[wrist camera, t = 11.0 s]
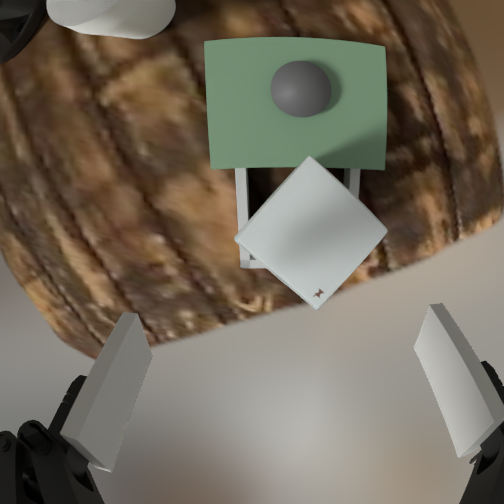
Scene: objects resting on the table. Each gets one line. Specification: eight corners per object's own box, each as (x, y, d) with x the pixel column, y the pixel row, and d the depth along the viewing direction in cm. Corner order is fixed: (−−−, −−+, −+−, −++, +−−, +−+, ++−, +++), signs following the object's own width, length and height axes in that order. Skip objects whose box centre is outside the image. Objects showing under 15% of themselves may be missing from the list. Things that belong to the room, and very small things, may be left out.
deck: (212, 50, 24) (201, 38, 19) (371, 53, 23) (389, 44, 18) (225, 257, 34) (218, 281, 30) (361, 256, 33) (375, 279, 29)
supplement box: (346, 216, 30) (393, 233, 18) (299, 267, 31) (316, 315, 19) (294, 167, 29) (311, 151, 17) (246, 221, 31) (230, 241, 18)
